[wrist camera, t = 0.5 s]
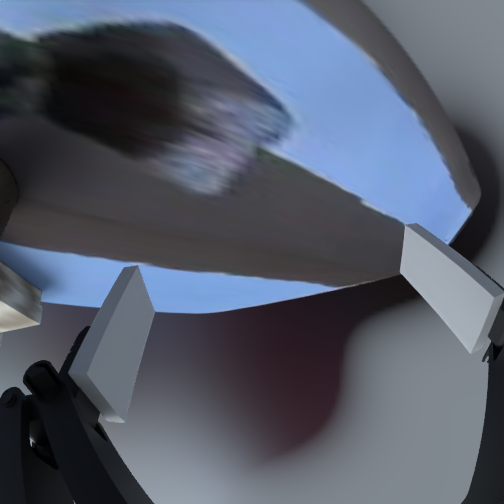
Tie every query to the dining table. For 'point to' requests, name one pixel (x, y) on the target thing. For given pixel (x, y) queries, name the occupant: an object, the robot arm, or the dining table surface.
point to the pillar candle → (6, 195)
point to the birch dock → (17, 301)
